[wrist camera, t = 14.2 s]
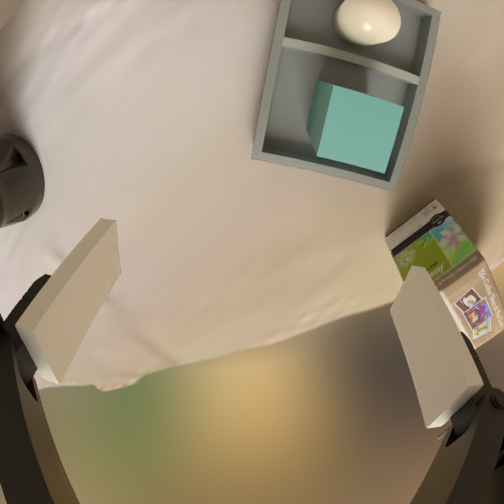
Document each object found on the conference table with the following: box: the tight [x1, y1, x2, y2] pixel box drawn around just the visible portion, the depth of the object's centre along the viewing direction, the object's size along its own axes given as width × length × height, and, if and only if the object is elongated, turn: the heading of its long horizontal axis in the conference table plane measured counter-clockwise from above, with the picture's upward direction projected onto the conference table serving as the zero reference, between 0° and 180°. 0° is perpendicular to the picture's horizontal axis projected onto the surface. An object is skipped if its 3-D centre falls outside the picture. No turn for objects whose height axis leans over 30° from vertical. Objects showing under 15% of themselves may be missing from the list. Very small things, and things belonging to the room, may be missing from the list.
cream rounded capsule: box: [332, 0, 401, 47], centre depth 24 cm, size 6×6×7 cm
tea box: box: [385, 199, 504, 349], centre depth 37 cm, size 15×10×15 cm, turn 45°
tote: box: [251, 0, 441, 192], centre depth 30 cm, size 17×23×4 cm
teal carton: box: [306, 80, 404, 174], centre depth 28 cm, size 6×6×12 cm
